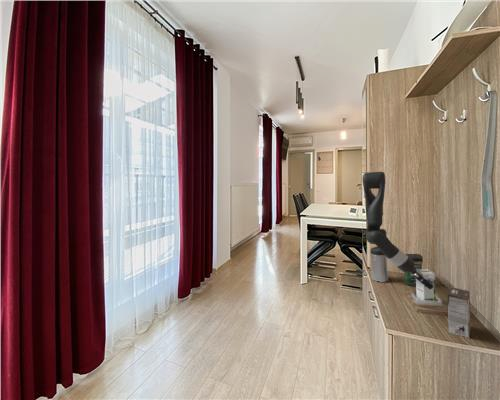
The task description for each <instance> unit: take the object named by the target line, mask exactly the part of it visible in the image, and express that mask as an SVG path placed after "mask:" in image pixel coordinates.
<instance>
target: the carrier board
mask: <svg viewBox="0 0 500 400" xmlns="http://www.w3.org/2000/svg"><path fill="white" fill-rule="evenodd" d="M412 291H413V290H411V291H410V290H406V291H405V293H406V295H407V298H408V299H409V301H410V302H411V305H412V306H413V308H414V310H415V311H416V312H417V313H426V314H433V315H441V316H442V315H443V316H448V304H446V302H445V301H444V300H443V299H442V297H440V295H439V294H438V293H436V296H437V297H438V298H439V299H440V300H441V302H442V308H432V307H423V306H417V305H416V303H415V301H414V300H413V298H412ZM418 299H419V298H418Z"/></svg>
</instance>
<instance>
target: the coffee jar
mask: <svg viewBox="0 0 500 400" xmlns="http://www.w3.org/2000/svg"><path fill="white" fill-rule="evenodd" d="M405 254H406V255H407V256H408V257H409V258H410V259H412V260H413V261H414V262H415V265H414V266H413V267H416V268H417V270H423V269H422V267H423V263H424V260H423V259H424V258H423V255H421V254H419V253H405ZM403 273H404V274H403V283H404V284H405V285H408V286H410V287H416V278H415V277H414V276H412V275H411V274H410V273H409V271H407V272H403Z"/></svg>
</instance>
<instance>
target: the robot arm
mask: <svg viewBox="0 0 500 400" xmlns="http://www.w3.org/2000/svg"><path fill="white" fill-rule="evenodd" d="M362 186H363V193H364V199H365V201H364V202H365V203H364V205H365V216H366V231H365V232H366V233H365V237H366V241H367V242H368V243H369V244H370V245H375V246H373V247H371V248H370V272H371V280H372V281H374V280H375V281H374V282H377V281H379V282H378V283H386V281H387V282H388V279H389V278H388V259H389V261H390V262H391V263H392V264H393V265H395V266H396V267H397V268H398V269H399V270H400V271H401V272H402V273H404V272H407V271H409V273H410V274H411V275H412V276H414V277H415V278H416V279H417V280H419V281H420V282H421V283H422V284H424V285H425V286H426V287H428V288H429V289H432V288H433V286H432V285H431V284H430V283H429V282H428V281H427V280H426V279H425V278H424V277H423V275H422V274H421V273H420V272H419V271H418V270H417V268H416V267H413V266H414V265H415V262H414V261H413V260H412V259H410V258H409V257H408V256H407V255H406V254H407V253H405V252H403V251H402V250H401V249H399V248H398V246H396V245H395V244H393V243H392V242H391V240H390V239H389V238H388V236H387V231H386V229H384V228H381V227H382V225H383V216H384V199H385V192H386V190H385V189H386V174H385V172H384V171H371V172H364V173H363V175H362ZM371 189H372V190H373V189H377V190H378V191H377V194H376V195H375V194H374V193H373V192H372V190H371ZM421 279H424V280H423V281H421Z"/></svg>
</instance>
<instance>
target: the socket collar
mask: <svg viewBox="0 0 500 400" xmlns="http://www.w3.org/2000/svg"><path fill="white" fill-rule="evenodd" d="M411 291H412V298H413V300H414V301H415V303H416V305H417V306H423V307H432V308H442V302H441V300H440V299H439V298H438V297H437V296H436V301H432V300H422V299H418V297H417V292H416V291H414V290H411Z"/></svg>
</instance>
